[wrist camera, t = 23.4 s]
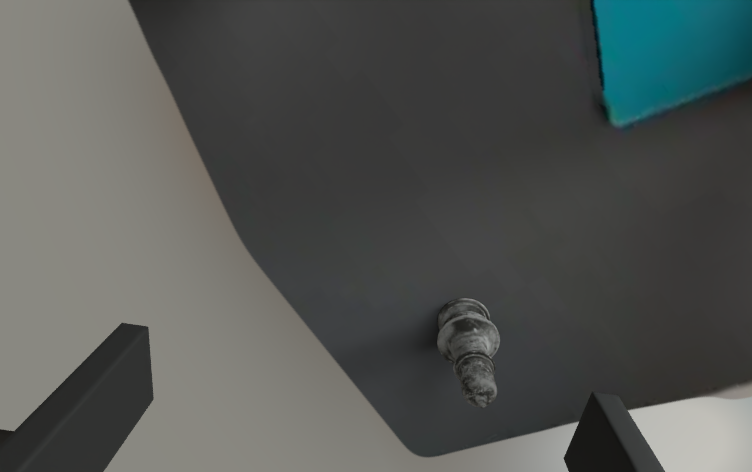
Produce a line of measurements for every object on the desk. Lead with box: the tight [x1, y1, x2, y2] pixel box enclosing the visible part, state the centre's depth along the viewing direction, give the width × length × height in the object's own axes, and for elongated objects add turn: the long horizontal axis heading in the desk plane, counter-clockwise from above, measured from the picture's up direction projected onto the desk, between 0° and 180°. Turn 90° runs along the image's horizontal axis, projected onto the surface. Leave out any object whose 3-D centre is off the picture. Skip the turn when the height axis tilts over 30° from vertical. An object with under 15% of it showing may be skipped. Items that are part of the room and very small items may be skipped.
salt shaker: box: [437, 298, 500, 408], centre depth 40 cm, size 6×6×12 cm
